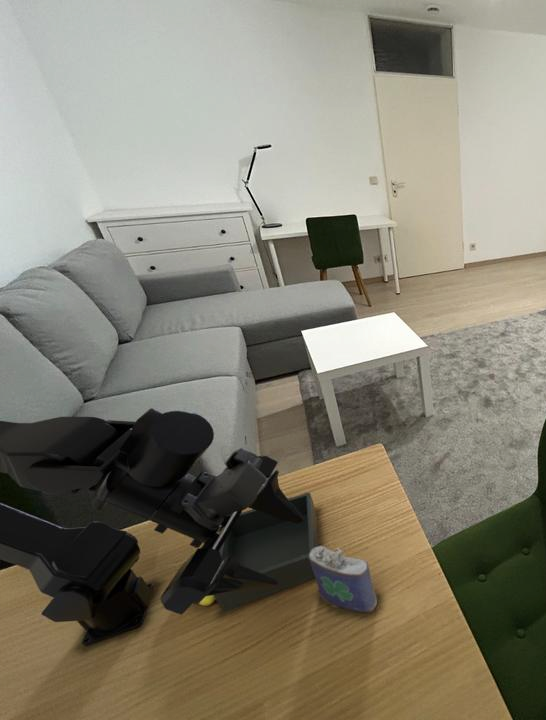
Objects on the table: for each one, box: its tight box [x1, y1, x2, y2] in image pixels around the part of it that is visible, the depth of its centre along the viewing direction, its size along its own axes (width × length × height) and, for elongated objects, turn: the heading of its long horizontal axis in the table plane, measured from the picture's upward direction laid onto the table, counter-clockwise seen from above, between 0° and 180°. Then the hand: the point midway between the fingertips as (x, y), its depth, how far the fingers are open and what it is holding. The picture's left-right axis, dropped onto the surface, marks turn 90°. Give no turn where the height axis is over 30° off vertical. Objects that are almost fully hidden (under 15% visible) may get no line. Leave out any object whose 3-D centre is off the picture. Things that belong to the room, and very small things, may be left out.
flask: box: [308, 545, 378, 614], centre depth 54 cm, size 9×3×11 cm, turn 72°
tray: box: [214, 492, 320, 612], centre depth 62 cm, size 13×13×5 cm
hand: (290, 550), depth 51 cm, fingers open, 9 cm apart
